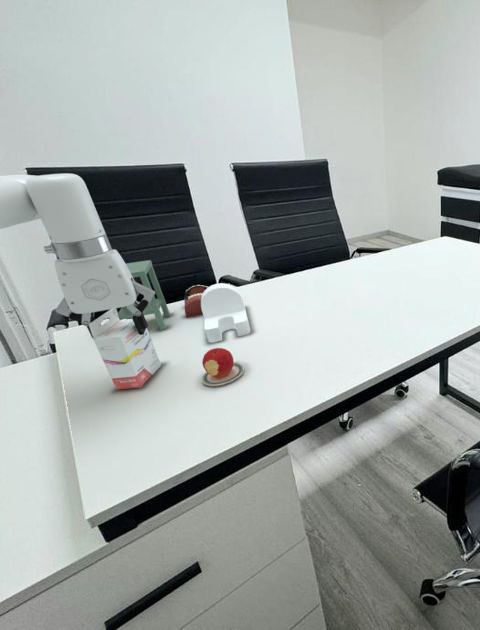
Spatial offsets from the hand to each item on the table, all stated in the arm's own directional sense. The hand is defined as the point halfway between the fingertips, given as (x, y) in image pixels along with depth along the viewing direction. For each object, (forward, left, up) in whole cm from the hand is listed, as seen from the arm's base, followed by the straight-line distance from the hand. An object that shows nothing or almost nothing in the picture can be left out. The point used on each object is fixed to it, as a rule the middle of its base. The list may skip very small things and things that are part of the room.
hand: (122, 335), depth 76 cm
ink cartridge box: (0, 0, -10) cm, 10 cm away
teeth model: (+10, +33, -10) cm, 36 cm away
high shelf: (-3, +28, -10) cm, 30 cm away
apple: (+16, -8, -10) cm, 21 cm away
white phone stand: (+17, +18, -10) cm, 27 cm away
